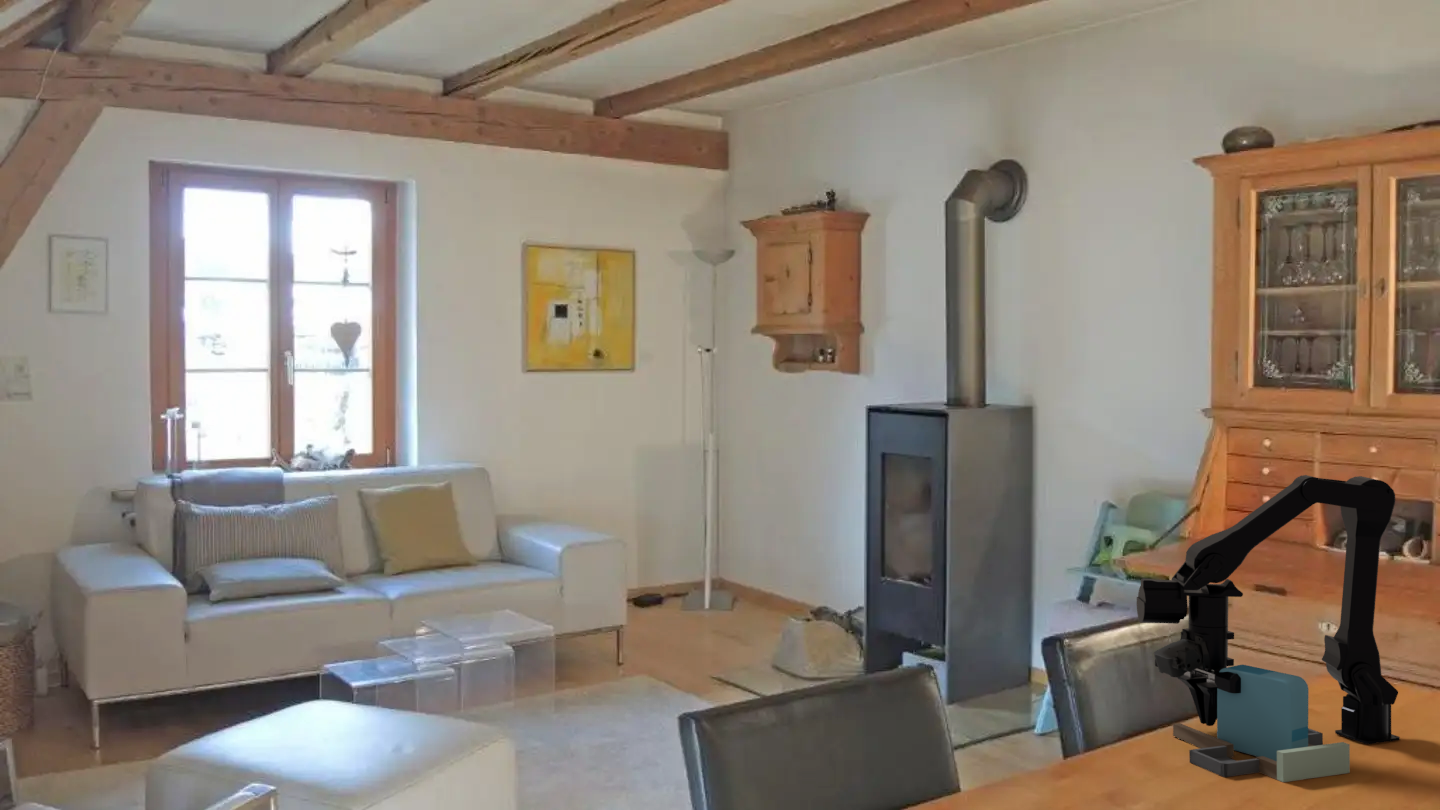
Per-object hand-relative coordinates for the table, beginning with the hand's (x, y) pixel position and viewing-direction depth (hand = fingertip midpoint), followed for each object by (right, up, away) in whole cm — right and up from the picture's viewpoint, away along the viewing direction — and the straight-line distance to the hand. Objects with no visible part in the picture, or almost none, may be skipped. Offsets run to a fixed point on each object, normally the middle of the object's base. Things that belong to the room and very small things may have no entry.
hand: (1207, 724), depth 196 cm
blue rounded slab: (+4, -2, -10) cm, 11 cm away
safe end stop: (+7, -2, -20) cm, 22 cm away
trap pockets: (+3, -2, -9) cm, 10 cm away
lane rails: (+3, -2, -9) cm, 10 cm away
